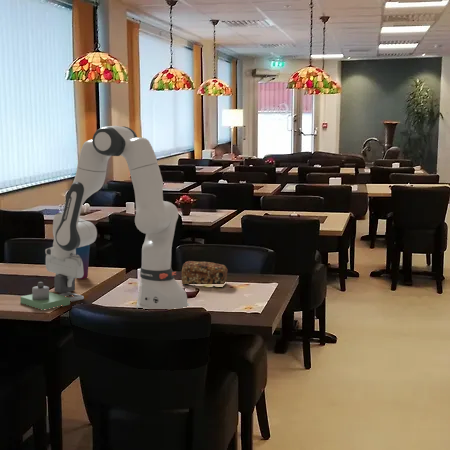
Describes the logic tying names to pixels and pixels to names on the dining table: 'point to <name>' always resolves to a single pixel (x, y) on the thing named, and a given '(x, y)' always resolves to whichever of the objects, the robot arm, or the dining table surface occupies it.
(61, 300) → the deck
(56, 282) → the grey piece
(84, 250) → the cup
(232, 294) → the dining table surface
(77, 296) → the bracket
